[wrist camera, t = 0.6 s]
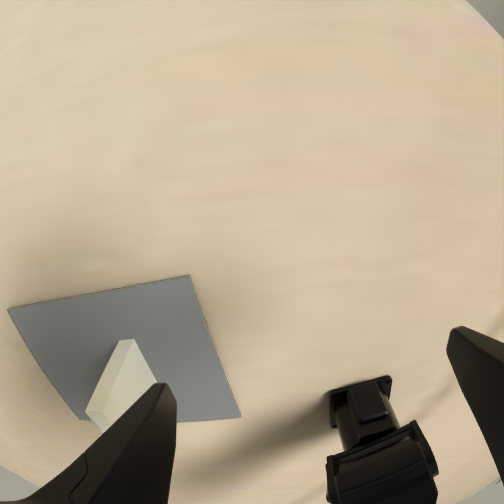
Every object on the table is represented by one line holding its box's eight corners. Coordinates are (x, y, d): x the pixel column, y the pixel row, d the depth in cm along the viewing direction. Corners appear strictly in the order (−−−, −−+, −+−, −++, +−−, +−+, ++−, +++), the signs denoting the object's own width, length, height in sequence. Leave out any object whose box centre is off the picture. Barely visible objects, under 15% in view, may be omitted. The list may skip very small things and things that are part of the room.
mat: (240, 414, 27) (240, 417, 27) (81, 417, 28) (80, 419, 28) (189, 274, 21) (188, 277, 21) (9, 308, 22) (6, 310, 22)
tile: (165, 395, 26) (148, 465, 18) (150, 395, 26) (131, 464, 18) (134, 338, 23) (102, 412, 15) (118, 340, 23) (84, 411, 16)
